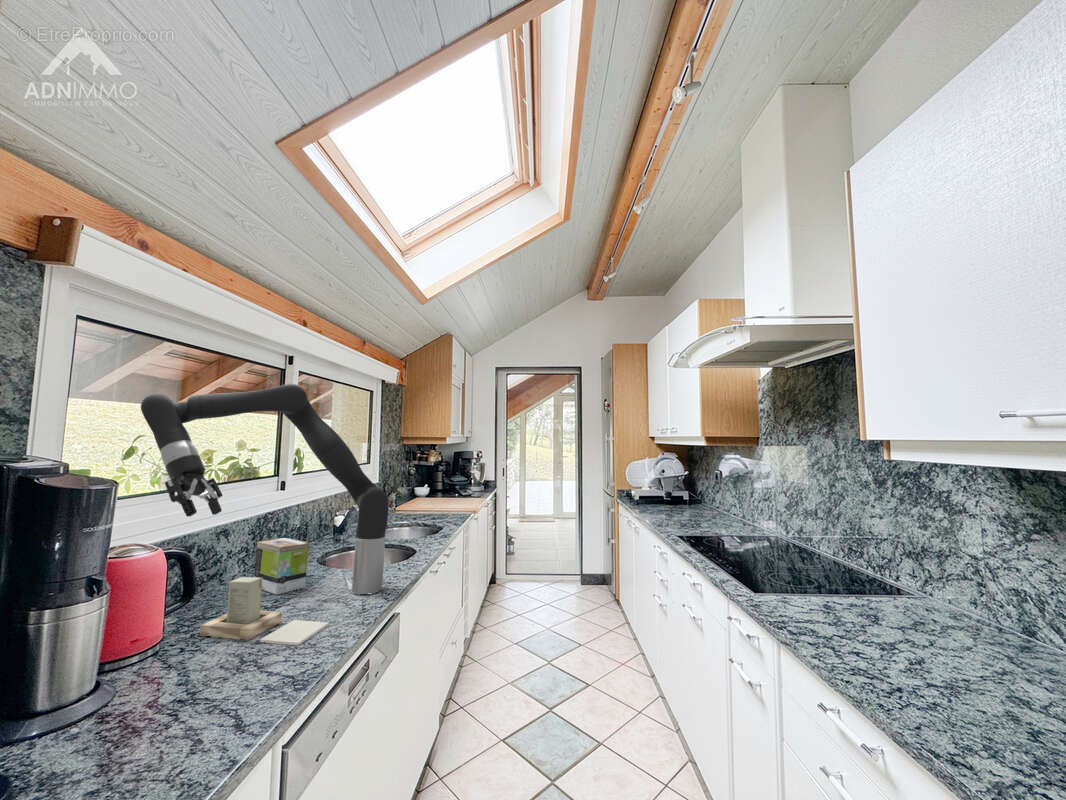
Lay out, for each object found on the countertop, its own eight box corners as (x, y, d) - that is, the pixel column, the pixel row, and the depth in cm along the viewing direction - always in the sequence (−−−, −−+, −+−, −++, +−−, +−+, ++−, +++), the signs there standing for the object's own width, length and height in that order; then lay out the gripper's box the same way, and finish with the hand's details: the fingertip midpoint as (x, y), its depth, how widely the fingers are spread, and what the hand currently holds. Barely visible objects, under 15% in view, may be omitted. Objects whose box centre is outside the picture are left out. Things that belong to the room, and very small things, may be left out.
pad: (294, 622, 114) (294, 619, 114) (328, 625, 112) (328, 622, 112) (259, 642, 102) (260, 639, 102) (298, 645, 101) (298, 642, 101)
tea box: (306, 587, 142) (310, 541, 143) (275, 596, 133) (279, 547, 135) (282, 579, 150) (286, 536, 151) (251, 587, 141) (255, 541, 143)
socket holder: (236, 618, 116) (237, 608, 116) (281, 621, 114) (282, 612, 114) (199, 635, 105) (200, 625, 105) (248, 640, 103) (249, 629, 103)
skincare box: (260, 626, 111) (264, 577, 112) (247, 633, 107) (252, 582, 108) (237, 624, 112) (242, 576, 113) (223, 631, 107) (228, 580, 109)
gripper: (173, 451, 108) (196, 507, 105) (215, 455, 122) (237, 505, 119) (145, 467, 108) (168, 523, 105) (191, 469, 122) (212, 519, 119)
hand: (205, 513), depth 112 cm, fingers open, 8 cm apart
